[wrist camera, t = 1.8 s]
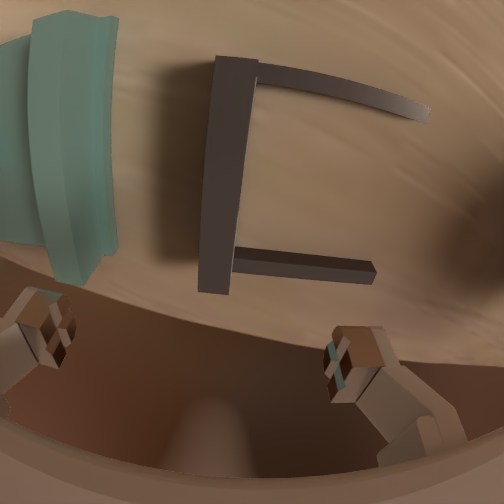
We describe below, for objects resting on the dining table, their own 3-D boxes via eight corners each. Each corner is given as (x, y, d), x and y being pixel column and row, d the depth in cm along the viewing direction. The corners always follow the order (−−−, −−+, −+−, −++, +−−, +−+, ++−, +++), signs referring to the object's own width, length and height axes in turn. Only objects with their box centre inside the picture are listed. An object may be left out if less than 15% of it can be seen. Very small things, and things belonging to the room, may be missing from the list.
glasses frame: (222, 60, 15) (214, 55, 12) (419, 104, 16) (452, 114, 13) (204, 256, 23) (196, 291, 19) (366, 273, 24) (381, 306, 20)
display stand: (-17, 54, 12) (-59, 62, 8) (118, 18, 13) (80, 6, 9) (1, 233, 21) (-29, 263, 17) (118, 247, 22) (93, 288, 18)
